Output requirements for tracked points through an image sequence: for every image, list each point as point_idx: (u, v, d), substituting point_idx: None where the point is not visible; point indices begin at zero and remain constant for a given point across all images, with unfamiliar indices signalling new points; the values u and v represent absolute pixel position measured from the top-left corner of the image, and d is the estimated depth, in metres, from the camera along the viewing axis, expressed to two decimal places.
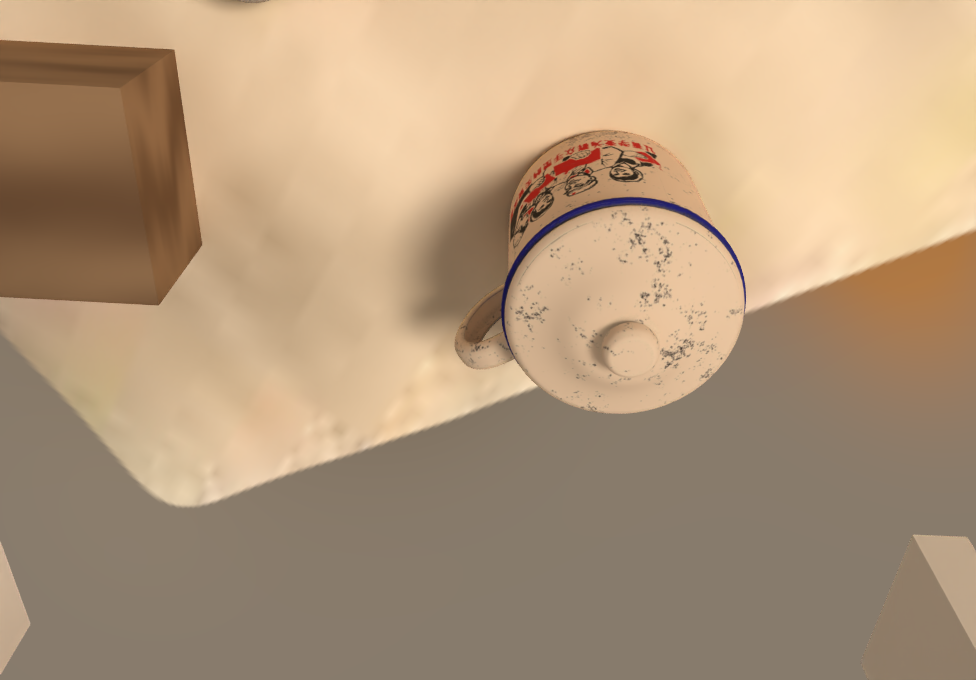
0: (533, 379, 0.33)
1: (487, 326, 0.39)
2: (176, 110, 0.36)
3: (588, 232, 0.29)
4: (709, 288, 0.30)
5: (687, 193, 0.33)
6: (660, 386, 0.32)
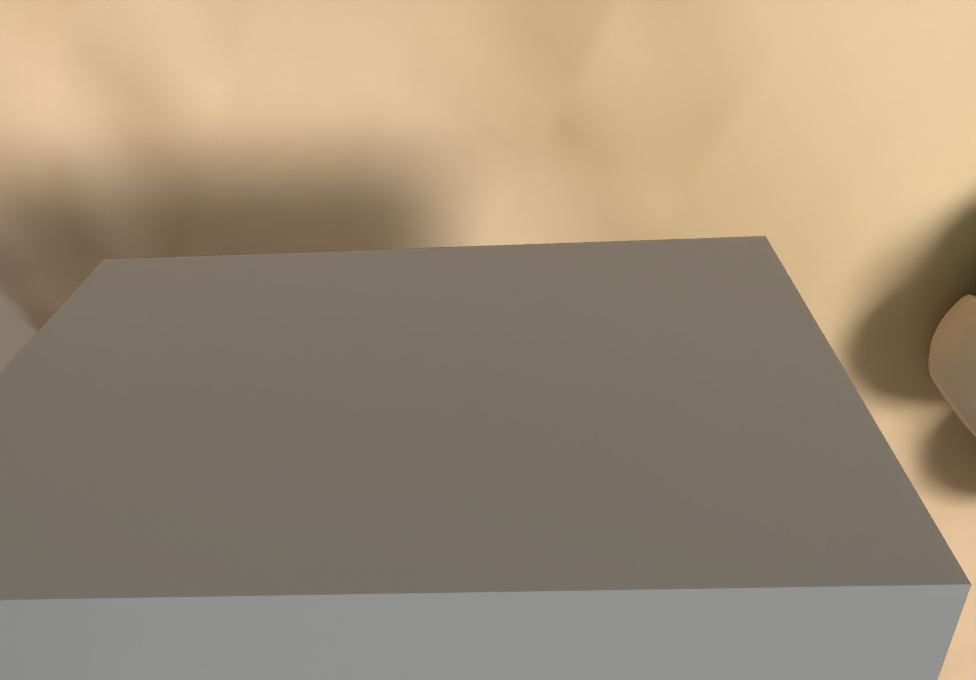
0: None
1: None
2: None
3: None
4: None
5: None
6: None
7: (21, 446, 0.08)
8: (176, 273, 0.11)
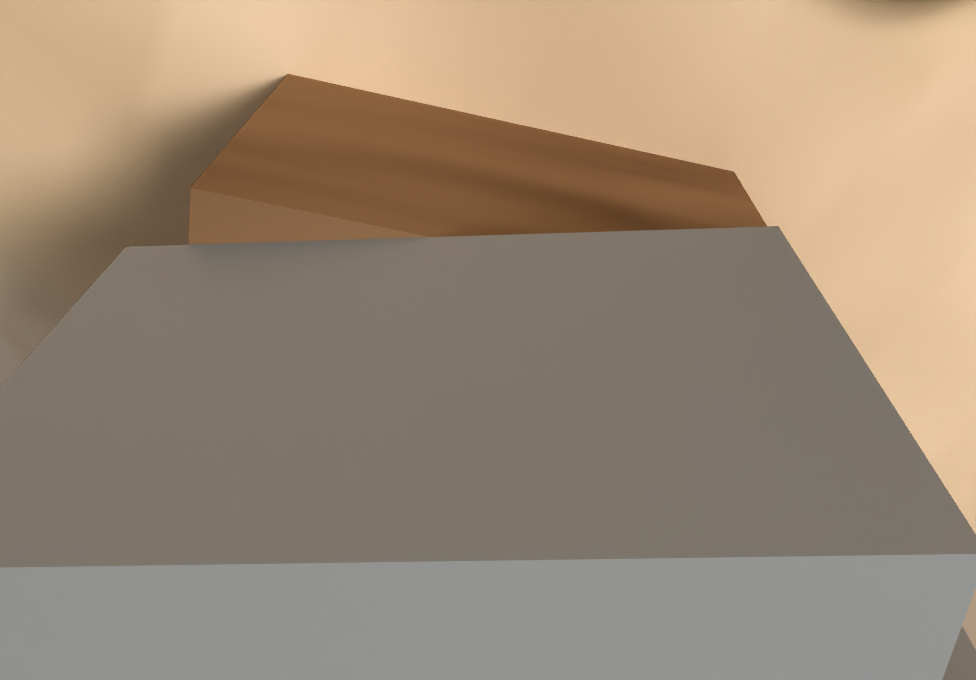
0: None
1: None
2: None
3: None
4: None
5: None
6: None
7: (54, 424, 0.08)
8: (198, 261, 0.11)
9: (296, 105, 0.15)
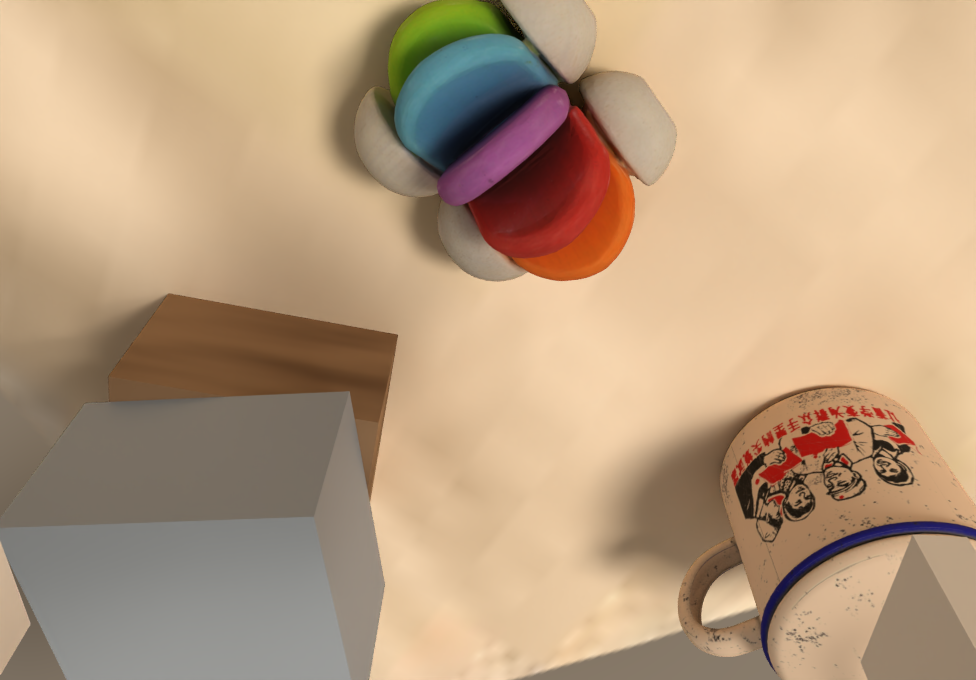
0: None
1: (702, 586, 0.36)
2: (387, 393, 0.34)
3: (881, 565, 0.27)
4: None
5: (956, 485, 0.30)
6: None
7: (55, 482, 0.25)
8: (113, 410, 0.28)
9: (167, 317, 0.32)
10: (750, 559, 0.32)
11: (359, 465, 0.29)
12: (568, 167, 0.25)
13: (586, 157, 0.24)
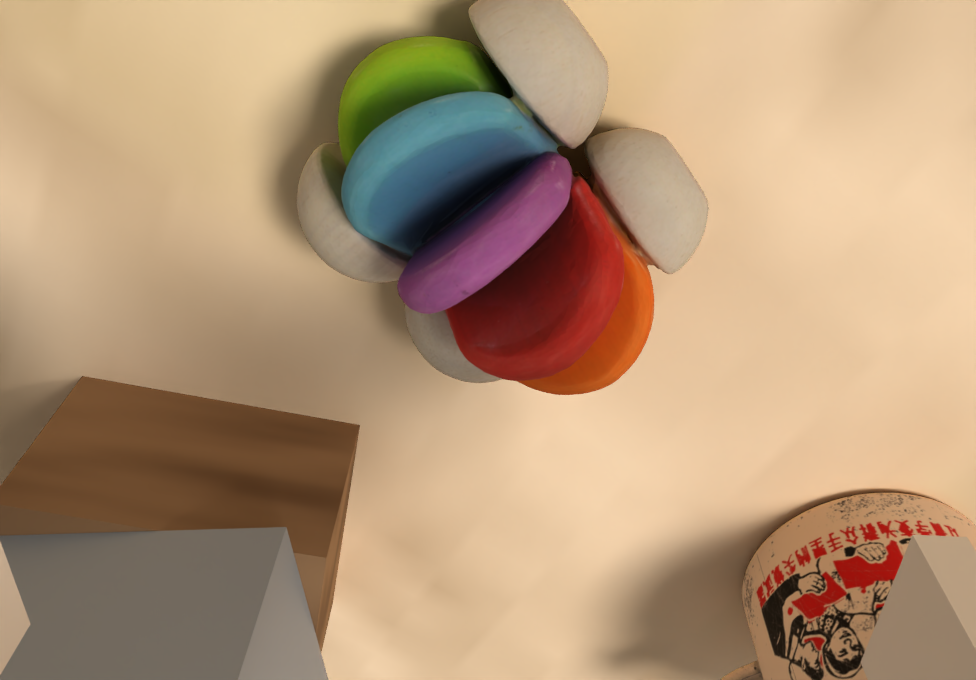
0: None
1: None
2: (348, 492, 0.29)
3: None
4: None
5: None
6: None
7: None
8: None
9: (76, 410, 0.26)
10: None
11: (302, 610, 0.24)
12: (569, 266, 0.19)
13: (593, 254, 0.19)
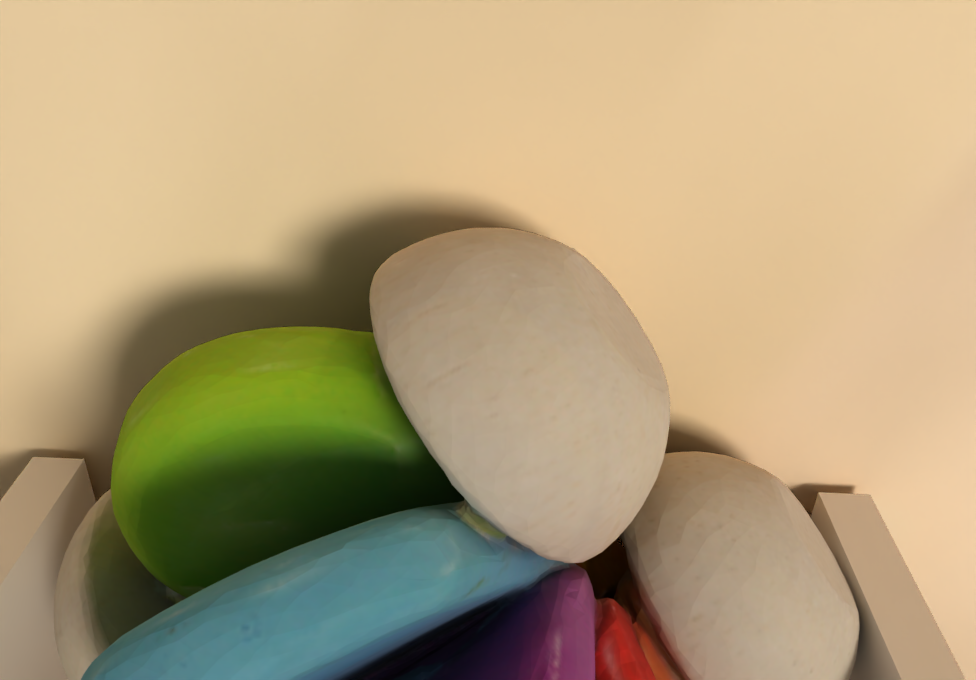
0: None
1: None
2: None
3: None
4: None
5: None
6: None
7: None
8: None
9: None
10: None
11: None
12: None
13: None
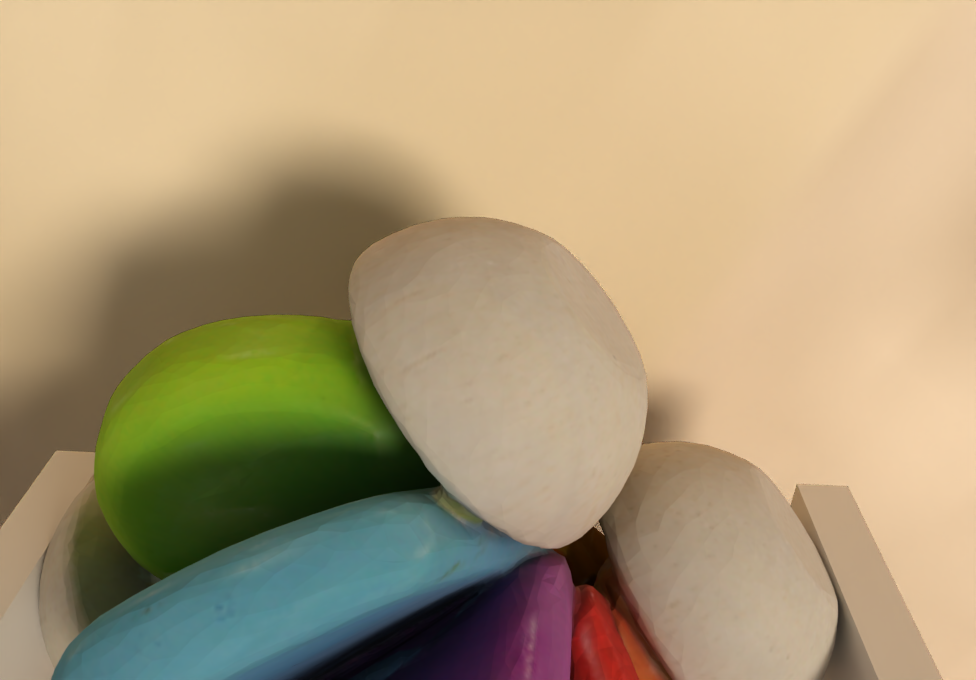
0: None
1: None
2: None
3: None
4: None
5: None
6: None
7: None
8: None
9: None
10: None
11: None
12: None
13: None
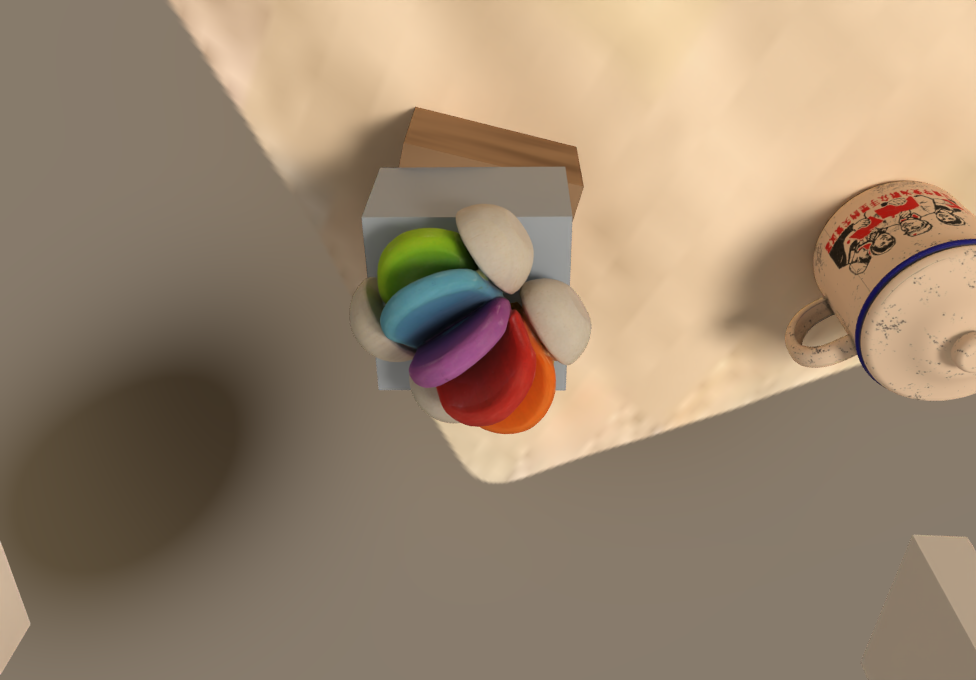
0: (876, 375, 0.43)
1: (800, 333, 0.49)
2: None
3: (945, 265, 0.40)
4: None
5: None
6: None
7: (388, 200, 0.38)
8: (403, 171, 0.41)
9: (422, 118, 0.45)
10: (844, 293, 0.45)
11: None
12: (505, 364, 0.34)
13: (518, 358, 0.34)
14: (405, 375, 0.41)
